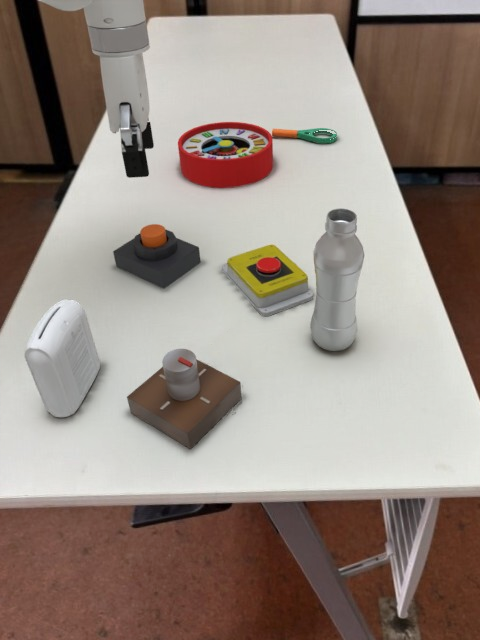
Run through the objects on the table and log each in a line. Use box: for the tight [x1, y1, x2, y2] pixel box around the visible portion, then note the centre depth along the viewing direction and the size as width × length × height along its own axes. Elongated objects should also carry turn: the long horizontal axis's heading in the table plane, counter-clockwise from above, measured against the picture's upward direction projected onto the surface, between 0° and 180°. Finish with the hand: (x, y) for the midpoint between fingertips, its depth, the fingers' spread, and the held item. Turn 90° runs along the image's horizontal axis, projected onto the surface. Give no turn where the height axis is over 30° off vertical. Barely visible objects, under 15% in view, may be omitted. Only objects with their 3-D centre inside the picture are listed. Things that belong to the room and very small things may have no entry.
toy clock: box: [177, 121, 274, 189], centre depth 122 cm, size 20×6×20 cm
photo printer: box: [24, 298, 101, 418], centre depth 71 cm, size 10×4×12 cm, turn 170°
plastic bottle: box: [309, 208, 365, 352], centre depth 75 cm, size 6×7×20 cm
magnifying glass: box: [271, 127, 338, 144], centre depth 134 cm, size 15×6×2 cm, turn 81°
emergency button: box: [221, 244, 314, 317], centre depth 91 cm, size 9×4×15 cm
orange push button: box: [139, 223, 167, 247], centre depth 93 cm, size 4×4×2 cm
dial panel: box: [126, 358, 243, 450], centre depth 72 cm, size 10×10×3 cm
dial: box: [161, 348, 200, 401], centre depth 69 cm, size 4×4×5 cm
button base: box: [112, 228, 202, 289], centre depth 95 cm, size 11×9×5 cm
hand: (141, 161), depth 86 cm, fingers open, 9 cm apart
